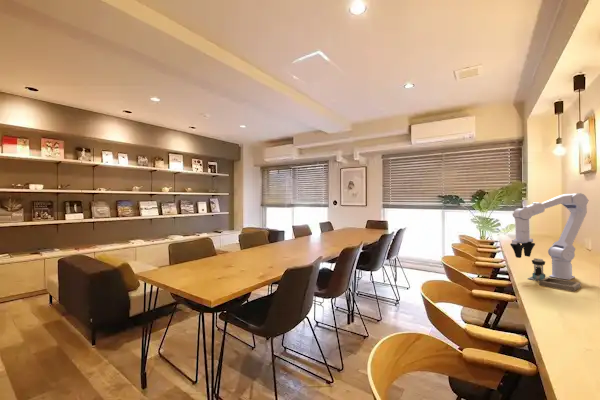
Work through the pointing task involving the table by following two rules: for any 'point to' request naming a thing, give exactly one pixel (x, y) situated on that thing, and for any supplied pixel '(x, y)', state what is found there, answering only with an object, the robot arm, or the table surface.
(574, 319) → the table surface
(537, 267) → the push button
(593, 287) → the table surface
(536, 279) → the mat
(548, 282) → the frame
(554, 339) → the table surface
